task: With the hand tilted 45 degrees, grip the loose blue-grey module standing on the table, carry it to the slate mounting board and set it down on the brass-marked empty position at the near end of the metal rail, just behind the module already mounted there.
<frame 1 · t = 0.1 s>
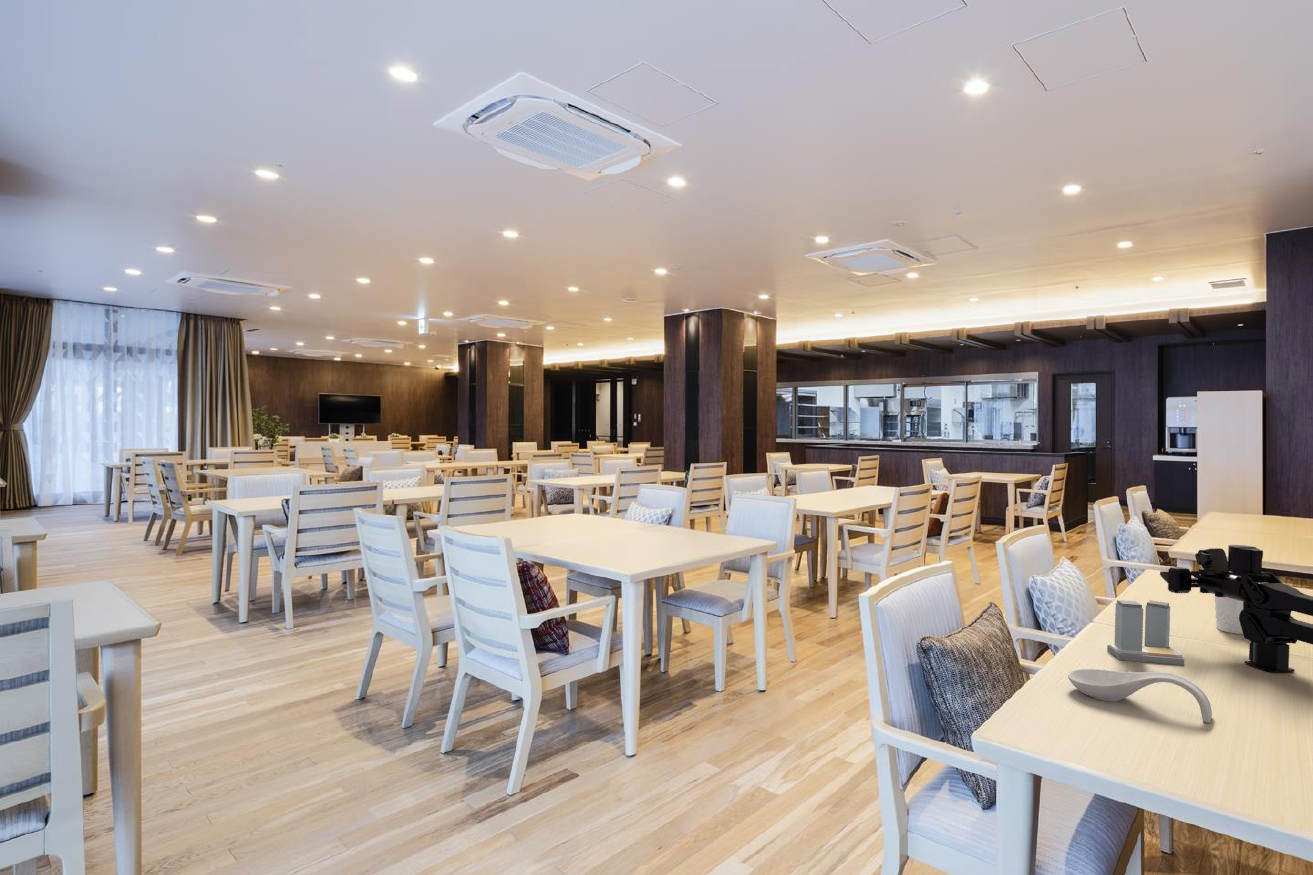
hand: (1176, 573, 186), 17 cm above the table, tool horizontal, fingers open, 9 cm apart
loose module: (1156, 646, 177), on the table
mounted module: (1128, 647, 168), resting on rail board
white cup: (1232, 631, 192), on the table
rail board: (1144, 657, 167), on the table
spoon rest: (1135, 705, 140), on the table
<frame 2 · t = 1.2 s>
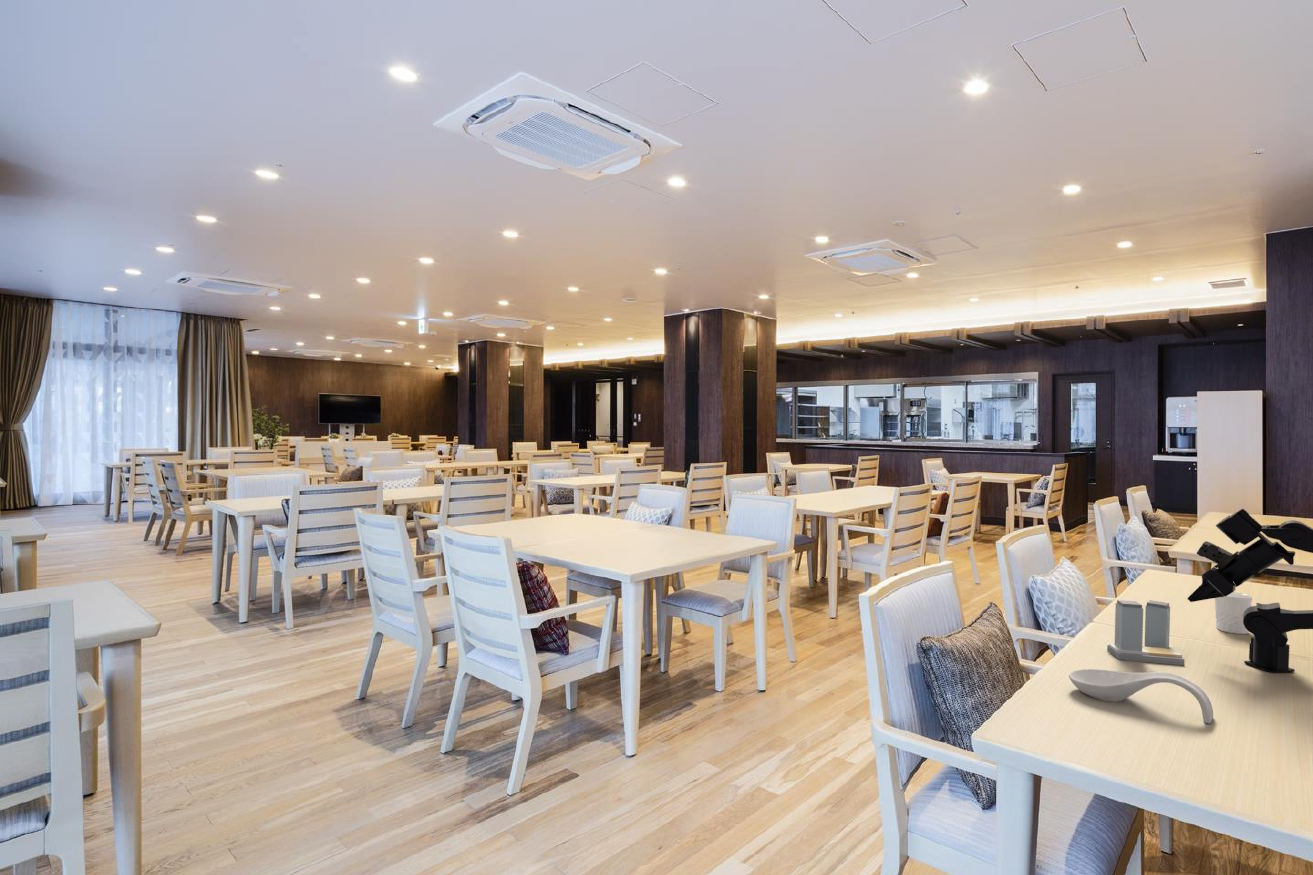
hand: (1192, 597, 172), 14 cm above the table, tool tilted 45°, fingers open, 9 cm apart
nothing on the table moved.
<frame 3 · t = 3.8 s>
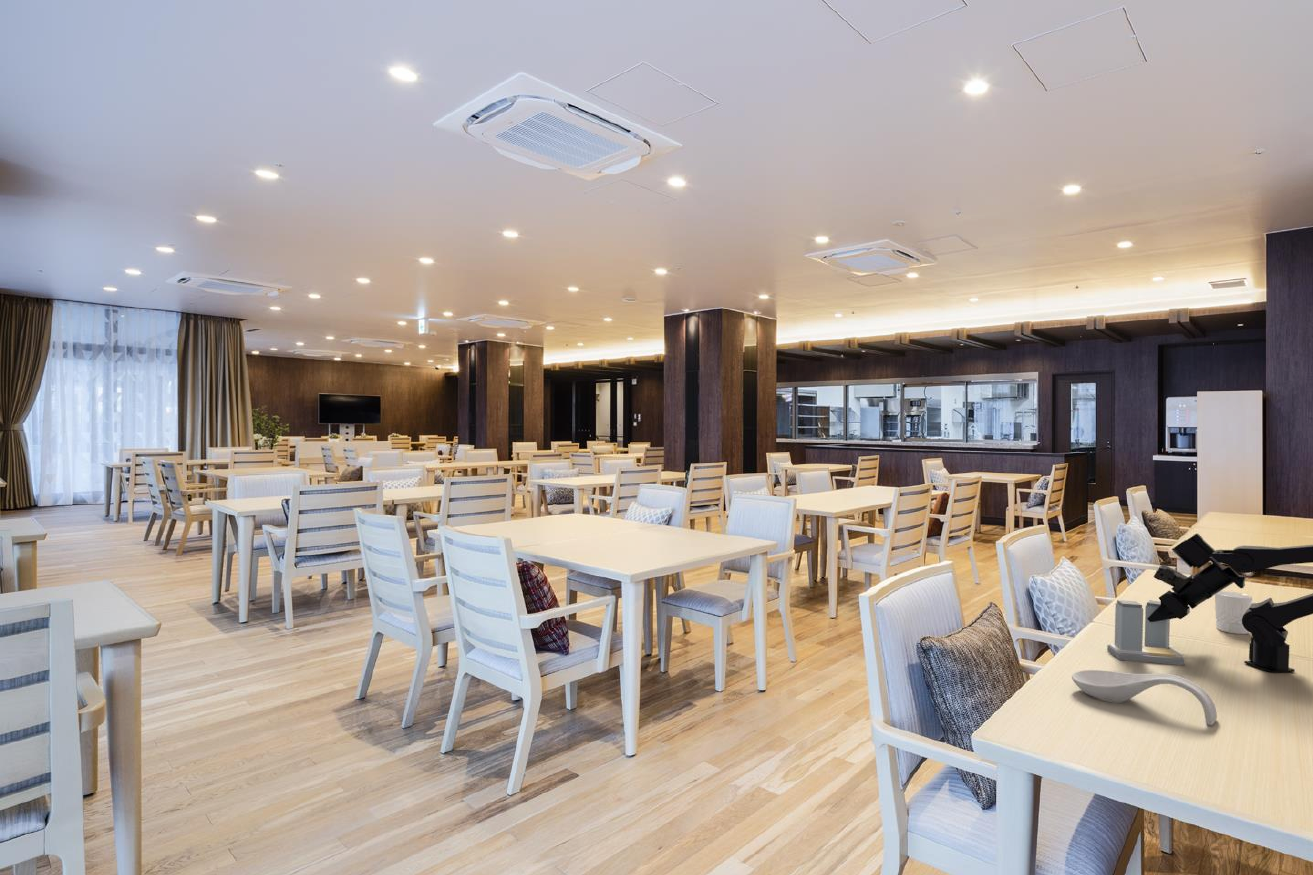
hand: (1150, 618, 178), 7 cm above the table, tool tilted 45°, fingers closed on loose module, 4 cm apart
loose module: (1156, 646, 177), on the table, touching gripper
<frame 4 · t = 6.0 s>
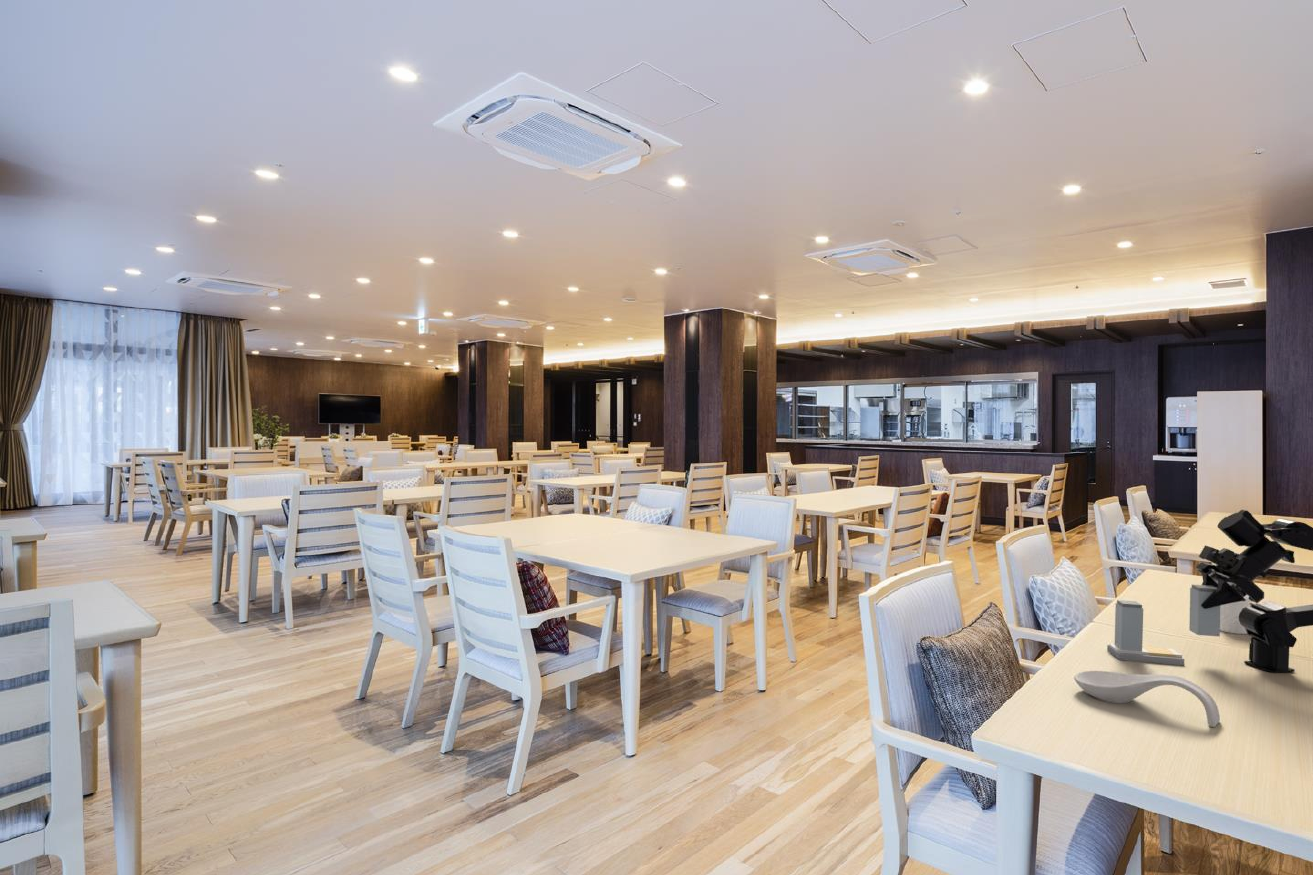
hand: (1198, 604, 165), 13 cm above the table, tool tilted 45°, fingers closed on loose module, 4 cm apart
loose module: (1204, 633, 165), point 7 cm above the table, touching gripper
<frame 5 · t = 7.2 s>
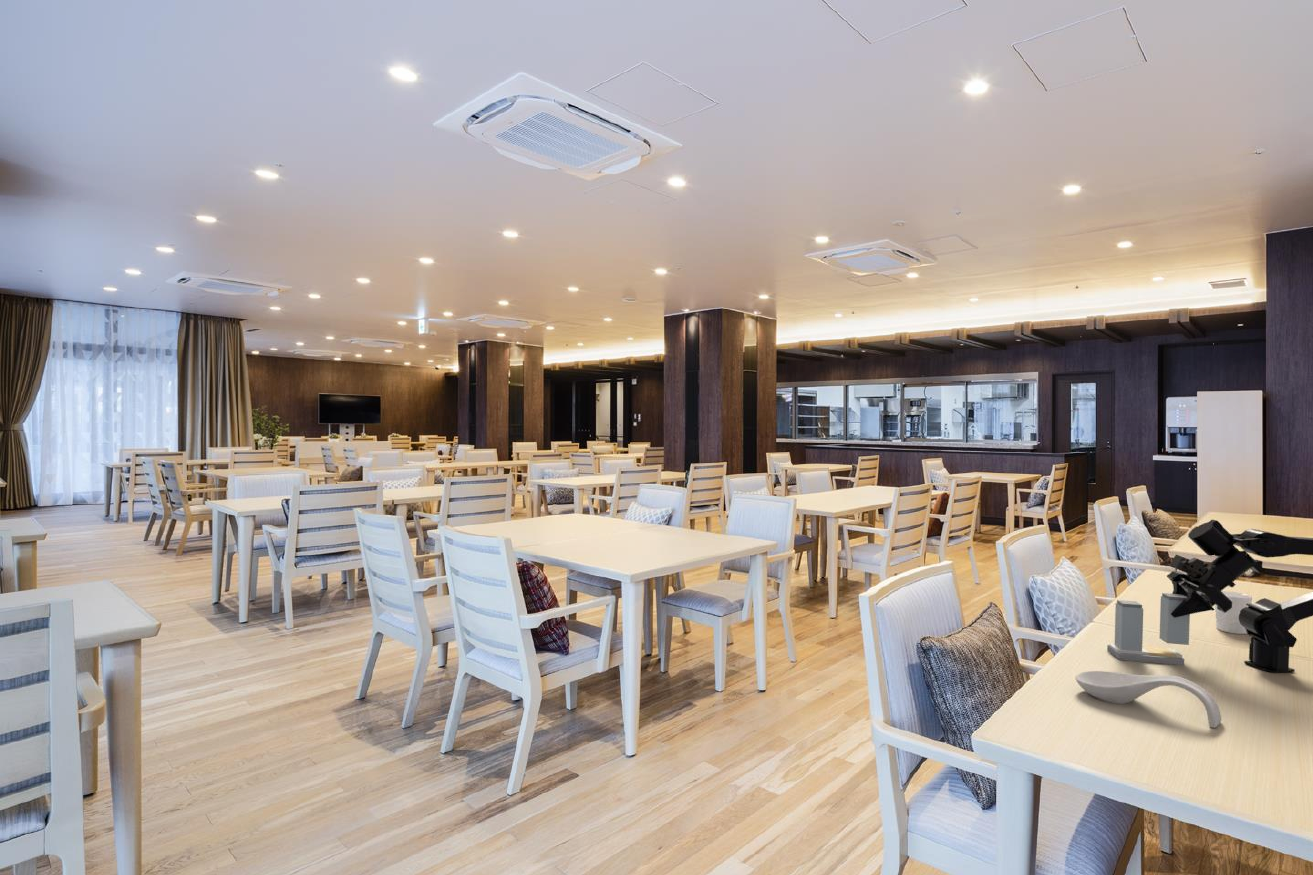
hand: (1168, 613, 166), 11 cm above the table, tool tilted 45°, fingers closed on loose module, 4 cm apart
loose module: (1173, 641, 166), point 4 cm above the table, touching gripper
when the fingers open (10 cm above the table, at t = 8.2 s): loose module stays where it is, resting on rail board.
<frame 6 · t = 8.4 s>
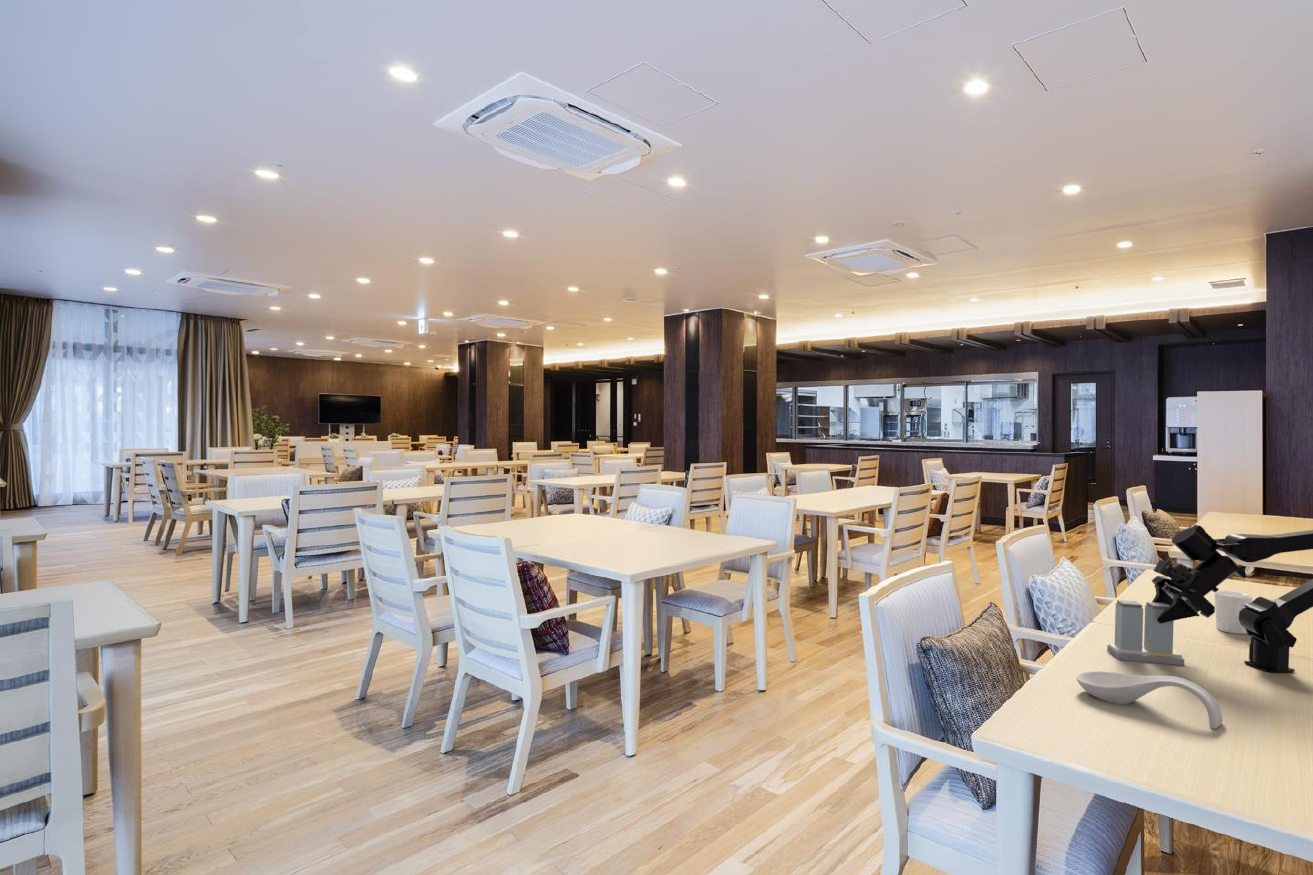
hand: (1152, 618, 167), 10 cm above the table, tool tilted 45°, fingers open, 6 cm apart
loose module: (1158, 650, 167), point 2 cm above the table, touching rail board
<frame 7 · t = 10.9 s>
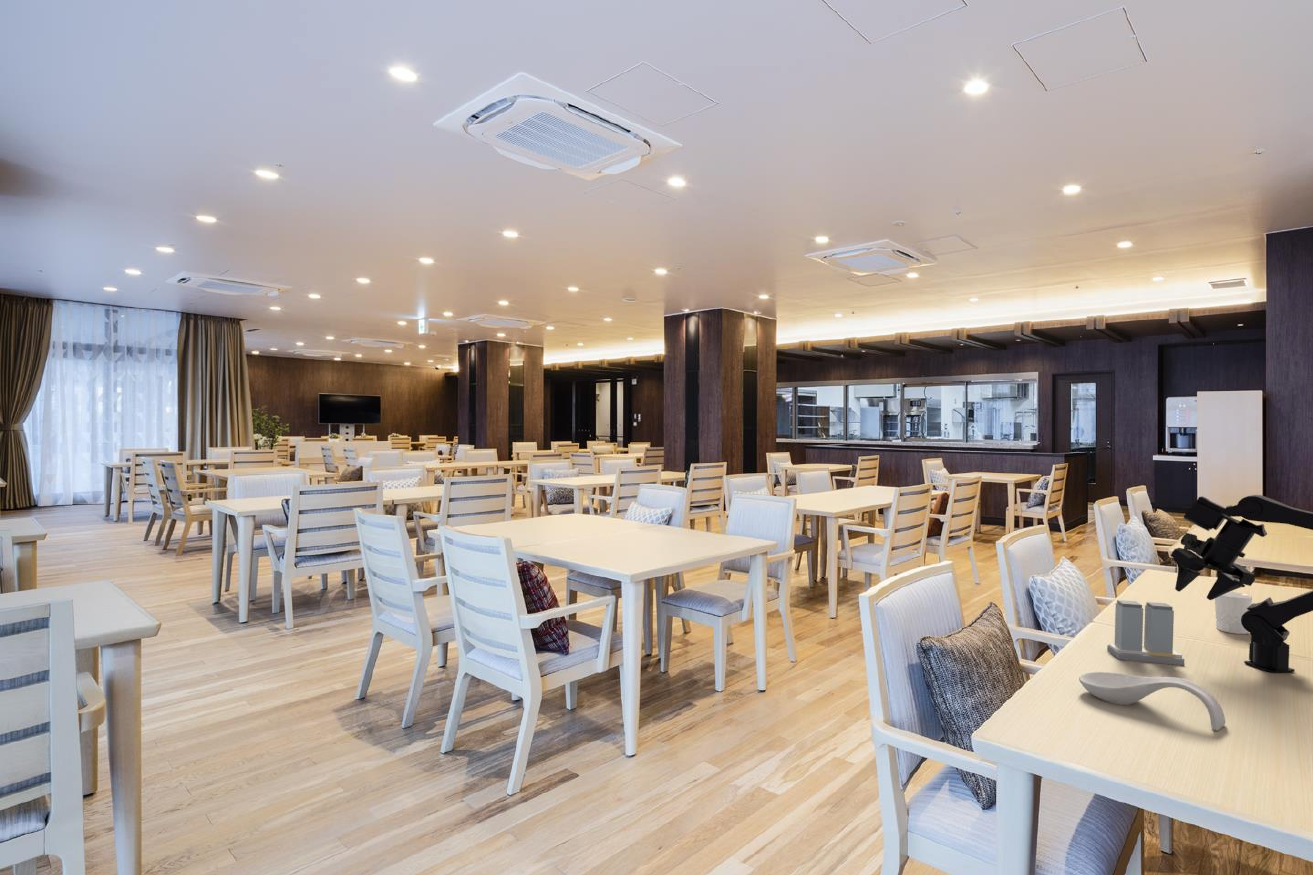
hand: (1192, 594, 172), 14 cm above the table, tool tilted 25°, fingers open, 9 cm apart
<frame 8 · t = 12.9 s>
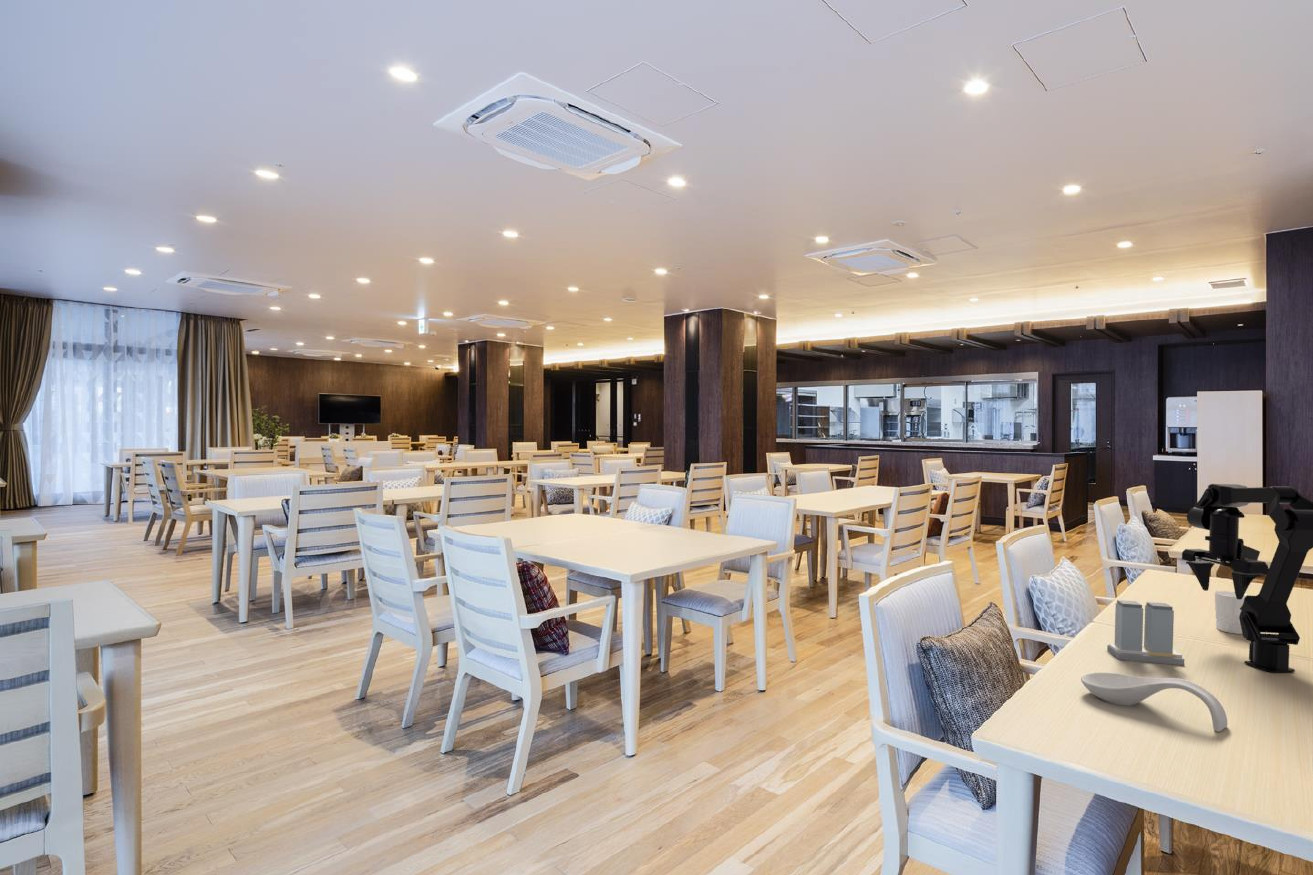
hand: (1222, 594, 178), 13 cm above the table, tool pointing down, fingers open, 9 cm apart
at the end: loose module 0.0 cm from the target spot, point 2.0 cm above the table; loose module tilted 0°; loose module touching rail board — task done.
